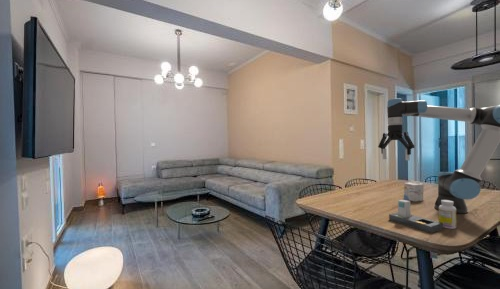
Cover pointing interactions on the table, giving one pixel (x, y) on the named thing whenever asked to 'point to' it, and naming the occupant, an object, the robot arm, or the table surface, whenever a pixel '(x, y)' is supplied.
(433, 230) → the panel
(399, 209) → the plug
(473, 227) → the table surface
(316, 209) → the table surface
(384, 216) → the table surface
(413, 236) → the table surface
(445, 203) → the supplement bottle
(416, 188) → the ink box
